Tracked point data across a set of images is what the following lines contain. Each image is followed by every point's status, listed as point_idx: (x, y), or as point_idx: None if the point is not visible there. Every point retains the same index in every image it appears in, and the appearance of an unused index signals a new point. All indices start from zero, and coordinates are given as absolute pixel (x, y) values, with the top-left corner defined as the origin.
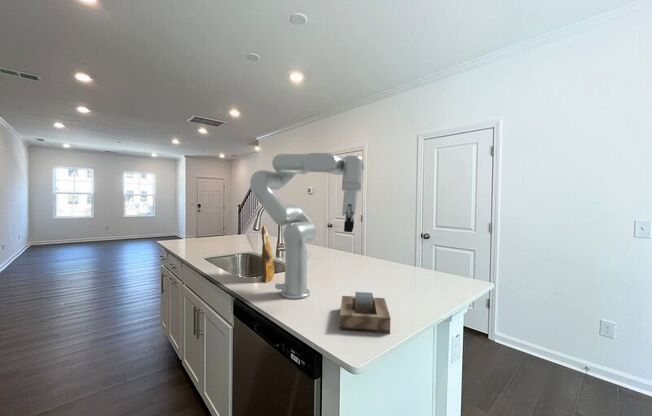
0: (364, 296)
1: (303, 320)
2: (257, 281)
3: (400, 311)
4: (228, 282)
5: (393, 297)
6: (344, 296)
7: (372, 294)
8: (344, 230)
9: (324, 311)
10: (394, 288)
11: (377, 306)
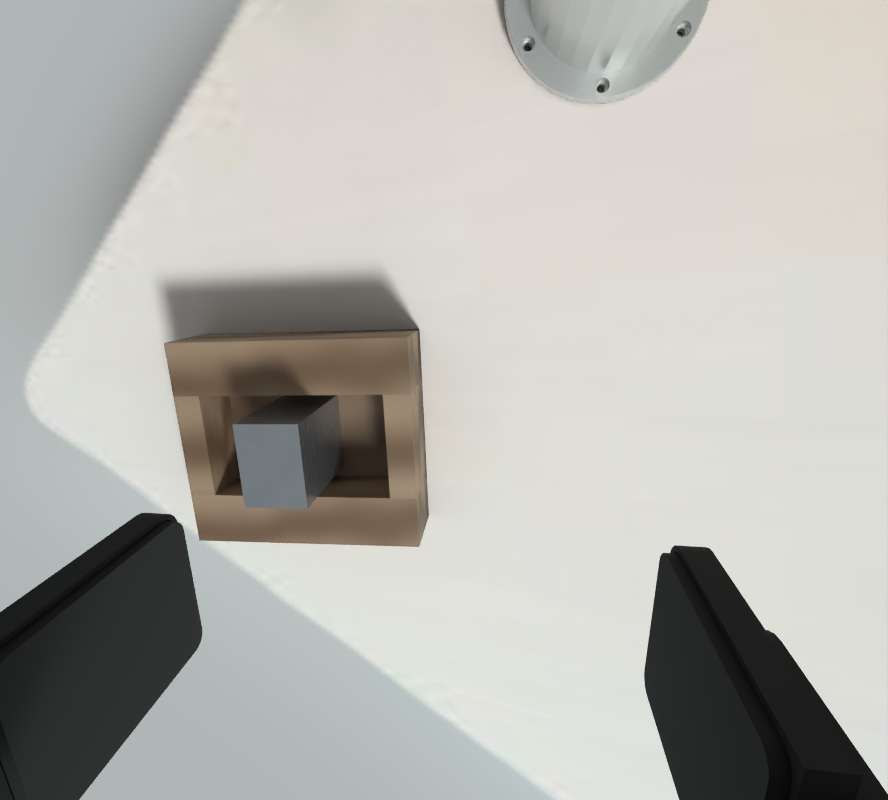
0: (241, 467)
1: (245, 162)
2: None
3: (440, 579)
4: None
5: (617, 580)
6: (398, 350)
7: (282, 507)
8: (133, 526)
9: (366, 245)
10: (775, 609)
11: None
